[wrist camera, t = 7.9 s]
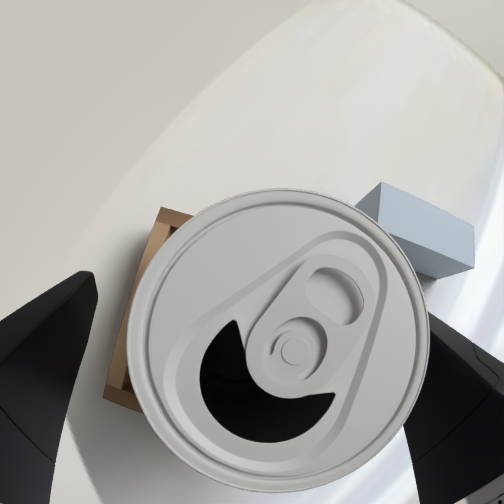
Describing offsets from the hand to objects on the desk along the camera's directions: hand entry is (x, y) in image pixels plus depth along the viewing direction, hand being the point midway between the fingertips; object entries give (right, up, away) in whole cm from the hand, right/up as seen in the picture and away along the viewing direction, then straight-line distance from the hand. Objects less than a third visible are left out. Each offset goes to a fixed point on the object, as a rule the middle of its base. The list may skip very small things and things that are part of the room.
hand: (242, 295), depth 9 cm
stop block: (+11, +2, +11) cm, 15 cm away
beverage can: (-1, -3, +8) cm, 8 cm away
